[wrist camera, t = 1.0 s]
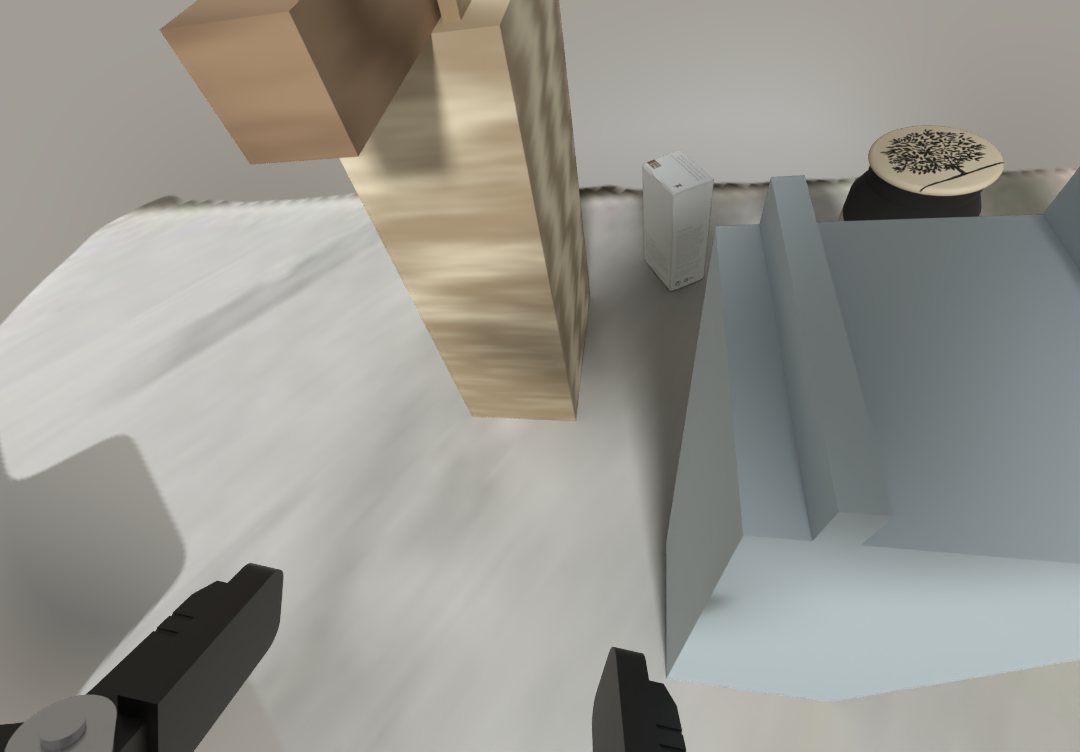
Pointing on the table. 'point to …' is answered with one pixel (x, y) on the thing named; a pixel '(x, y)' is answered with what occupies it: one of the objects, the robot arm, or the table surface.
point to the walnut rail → (300, 69)
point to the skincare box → (676, 218)
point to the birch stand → (487, 205)
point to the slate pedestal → (880, 453)
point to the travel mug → (924, 175)
